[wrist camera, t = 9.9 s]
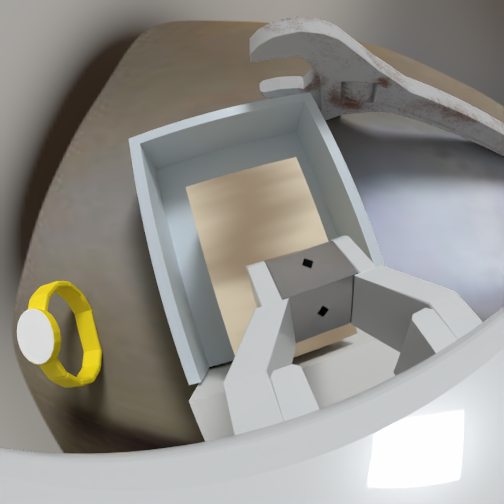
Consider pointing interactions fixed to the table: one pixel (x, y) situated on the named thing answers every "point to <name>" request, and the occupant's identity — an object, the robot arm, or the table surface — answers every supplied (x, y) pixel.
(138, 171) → the tray
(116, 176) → the table surface
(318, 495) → the robot arm
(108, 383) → the table surface
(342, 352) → the riser
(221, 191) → the block
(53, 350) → the watch
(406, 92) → the wrench
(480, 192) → the table surface
